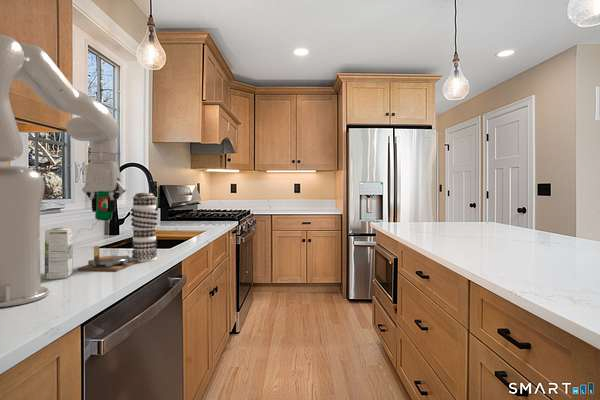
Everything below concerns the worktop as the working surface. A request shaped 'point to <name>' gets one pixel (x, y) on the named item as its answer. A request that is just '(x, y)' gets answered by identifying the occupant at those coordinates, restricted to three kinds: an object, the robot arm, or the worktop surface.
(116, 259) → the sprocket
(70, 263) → the syrup box
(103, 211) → the soda can
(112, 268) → the base board
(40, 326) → the worktop surface
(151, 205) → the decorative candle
